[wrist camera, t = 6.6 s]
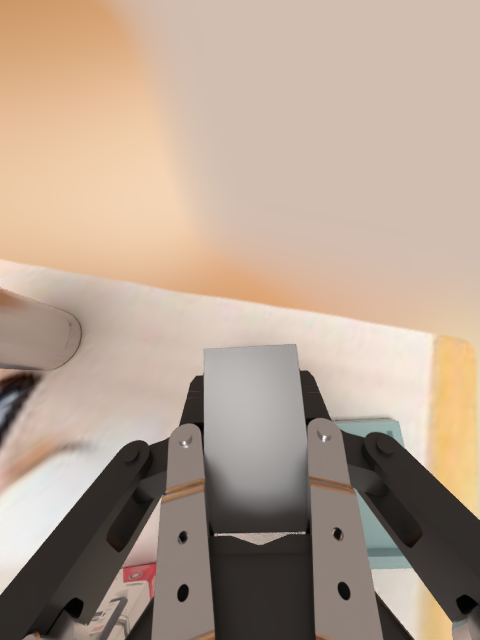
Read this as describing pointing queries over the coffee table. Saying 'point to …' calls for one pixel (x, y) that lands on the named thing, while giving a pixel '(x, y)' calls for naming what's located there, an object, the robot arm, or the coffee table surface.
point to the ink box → (123, 603)
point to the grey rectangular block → (255, 439)
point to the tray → (376, 537)
